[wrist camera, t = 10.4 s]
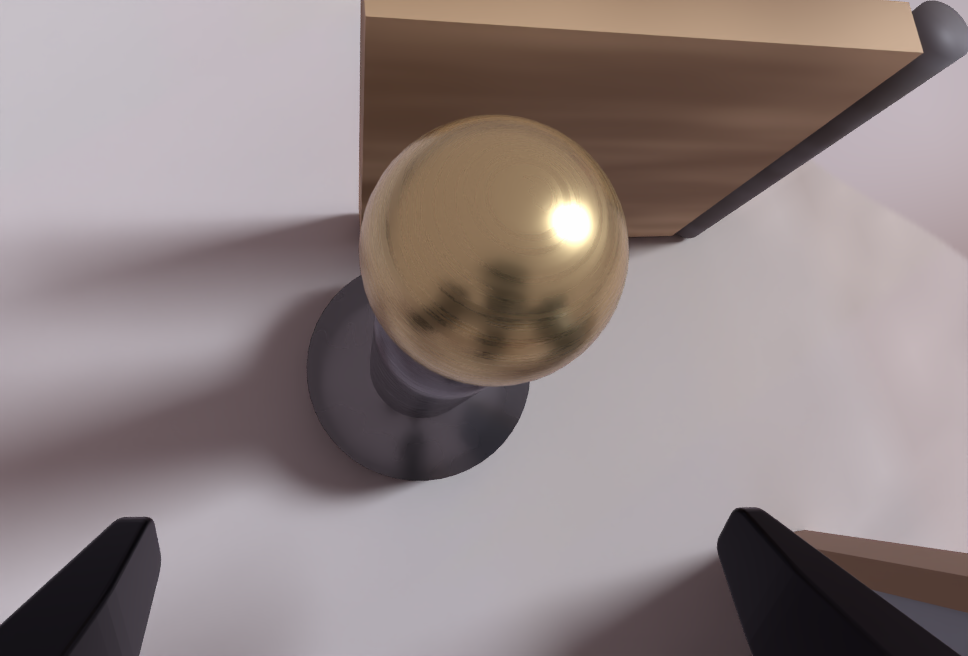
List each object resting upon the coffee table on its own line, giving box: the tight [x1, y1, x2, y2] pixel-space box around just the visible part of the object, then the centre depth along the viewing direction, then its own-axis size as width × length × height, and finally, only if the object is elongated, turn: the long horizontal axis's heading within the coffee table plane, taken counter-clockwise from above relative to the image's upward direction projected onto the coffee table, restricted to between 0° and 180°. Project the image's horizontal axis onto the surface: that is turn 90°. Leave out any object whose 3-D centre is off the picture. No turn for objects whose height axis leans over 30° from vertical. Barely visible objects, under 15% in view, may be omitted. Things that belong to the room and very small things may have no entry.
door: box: [359, 0, 968, 238], centre depth 16 cm, size 1×13×10 cm, turn 96°
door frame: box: [794, 530, 968, 656], centre depth 16 cm, size 25×2×9 cm, turn 6°
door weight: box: [307, 115, 629, 481], centre depth 12 cm, size 6×6×13 cm
